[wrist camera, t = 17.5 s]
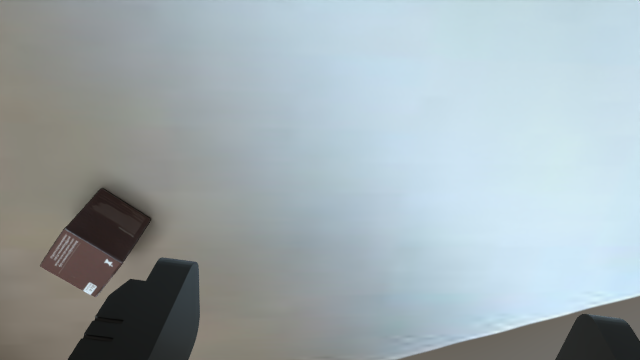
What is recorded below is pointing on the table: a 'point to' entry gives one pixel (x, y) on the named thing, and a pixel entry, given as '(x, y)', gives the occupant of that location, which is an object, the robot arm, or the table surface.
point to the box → (96, 243)
